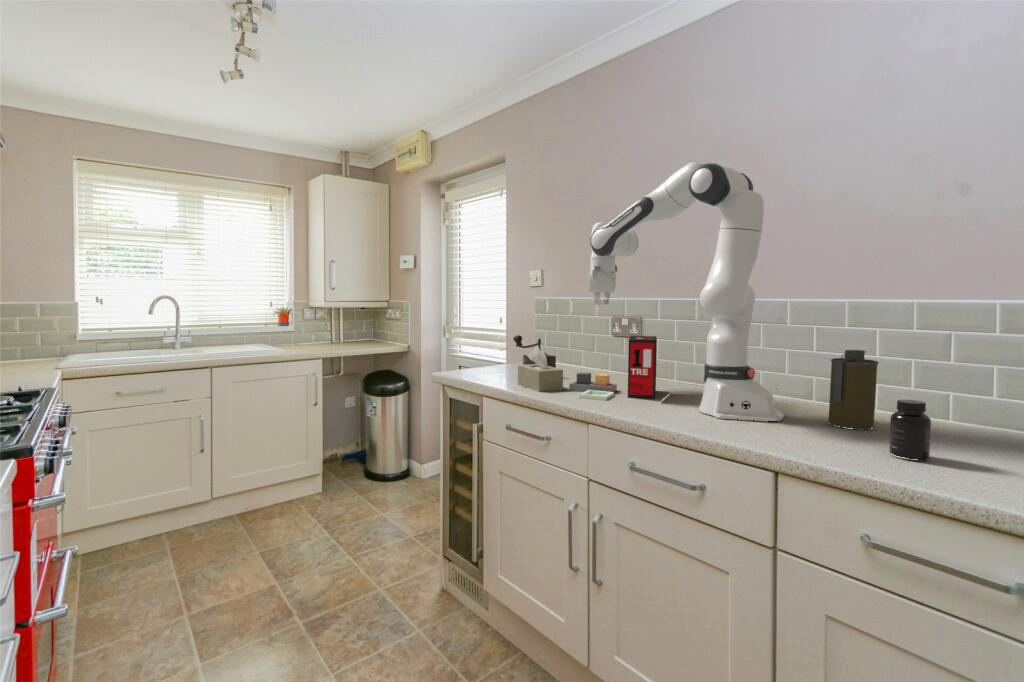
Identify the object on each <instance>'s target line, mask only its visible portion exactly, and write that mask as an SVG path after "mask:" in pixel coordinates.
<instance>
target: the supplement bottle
mask: <svg viewBox="0 0 1024 682" xmlns="http://www.w3.org/2000/svg"><path fill="white" fill-rule="evenodd" d="M926 405H927V403H926V402H925V401H922V400H914V399H898V400H897V401H896V410H897V411H895V412H894V413H892V414H891V416H890V428H889V429H890V430H889V445H888V446H889V454H890V453H892V454H894V455H896V456H900V457H905V458H909V459H918V460H926V459H928V460H929V459H930V456H931V455H930V454H931V433H932V419H931V418H930V417H929V416H928V415H927V414H925V413H926V412H927V408H926ZM926 461H927V460H926Z"/></svg>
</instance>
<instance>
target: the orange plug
mask: <svg viewBox="0 0 1024 682" xmlns="http://www.w3.org/2000/svg"><path fill="white" fill-rule="evenodd" d="M610 377H611V376H610V374H609V373H598V374H595V378H594V380H595V381H594V382H595V385H596V386H610V383H611V379H610Z"/></svg>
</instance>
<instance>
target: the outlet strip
mask: <svg viewBox="0 0 1024 682" xmlns="http://www.w3.org/2000/svg"><path fill="white" fill-rule="evenodd" d="M617 388H618V384H617V383H611V382H610V386H596V385H595V381H591V384H590V385H584V384H577V380H575V381H572V382H571V383H569V387H568V389H569V391H572V392H581V393H583V392H585V391H587V390H596V391H607V392H614V393H615V392H616V391H617V390H618V389H617Z"/></svg>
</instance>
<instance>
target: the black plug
mask: <svg viewBox="0 0 1024 682" xmlns="http://www.w3.org/2000/svg"><path fill="white" fill-rule="evenodd" d="M576 381H577V384H584V385H590V384H591V382H592V373H591V372H582V371H581V372H577V373H576Z"/></svg>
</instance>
